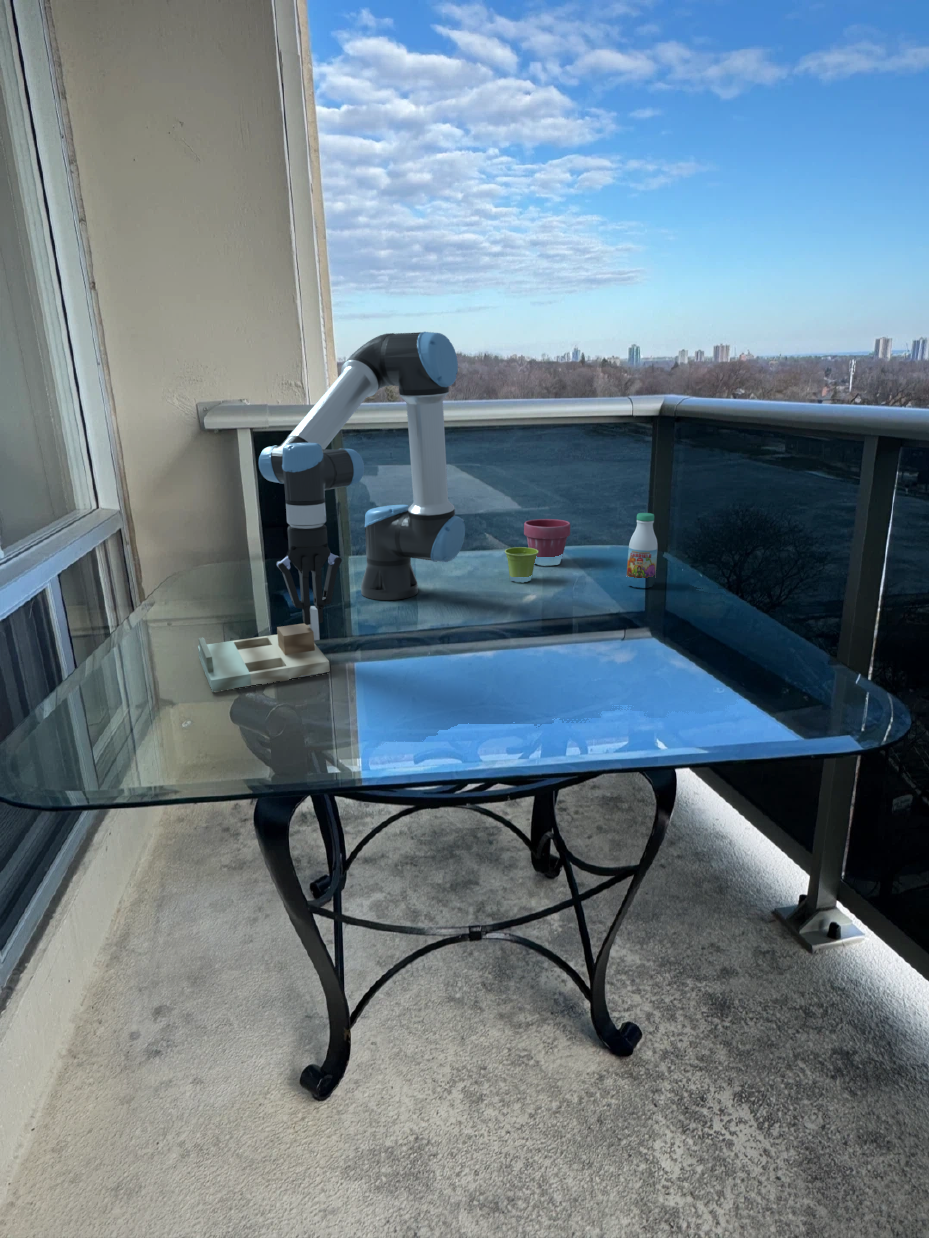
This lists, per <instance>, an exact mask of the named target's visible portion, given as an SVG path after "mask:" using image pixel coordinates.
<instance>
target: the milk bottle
mask: <svg viewBox="0 0 929 1238" xmlns="http://www.w3.org/2000/svg"><path fill="white" fill-rule="evenodd" d="M654 523H655V514H654V513H650V512H639V513H637V514H636V527H635V530H634V532H633V533H632V536H631V537H630V540H629V544H628V551H627V553H628V555H627V566H626V577H627V576H628V577H634V578H648V577H653V576H654V575H655V576H656V574H657V573H656V572H657V571H656V570H657V562H658V561H657V559H658V558H657V557H658V539H657V536H656V534H655V531H654Z"/></svg>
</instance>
